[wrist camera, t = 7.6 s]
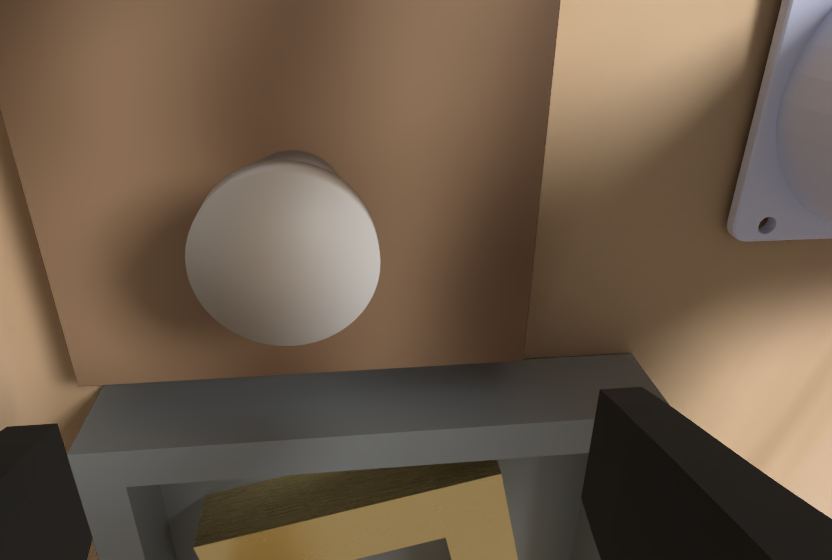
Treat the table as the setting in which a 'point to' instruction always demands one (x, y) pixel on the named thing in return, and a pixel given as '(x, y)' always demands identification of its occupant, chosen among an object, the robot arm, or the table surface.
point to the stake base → (251, 92)
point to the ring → (361, 514)
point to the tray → (345, 444)
